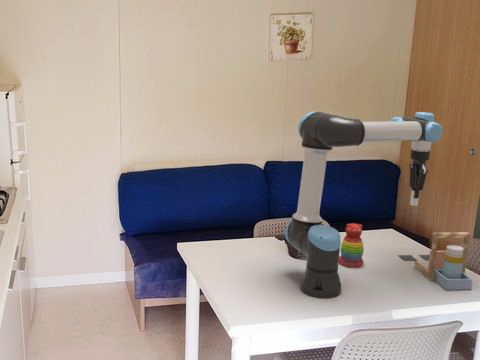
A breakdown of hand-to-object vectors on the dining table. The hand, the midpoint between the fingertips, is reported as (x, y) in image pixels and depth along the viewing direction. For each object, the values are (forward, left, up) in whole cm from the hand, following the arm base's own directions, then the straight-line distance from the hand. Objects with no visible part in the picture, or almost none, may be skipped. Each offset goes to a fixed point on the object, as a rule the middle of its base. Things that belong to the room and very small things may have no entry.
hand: (413, 205), depth 231 cm
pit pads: (+8, +2, -26) cm, 27 cm away
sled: (0, -22, -25) cm, 33 cm away
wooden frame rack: (+2, -15, -26) cm, 30 cm away
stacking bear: (-25, +8, -26) cm, 37 cm away
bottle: (-1, -25, -26) cm, 36 cm away
